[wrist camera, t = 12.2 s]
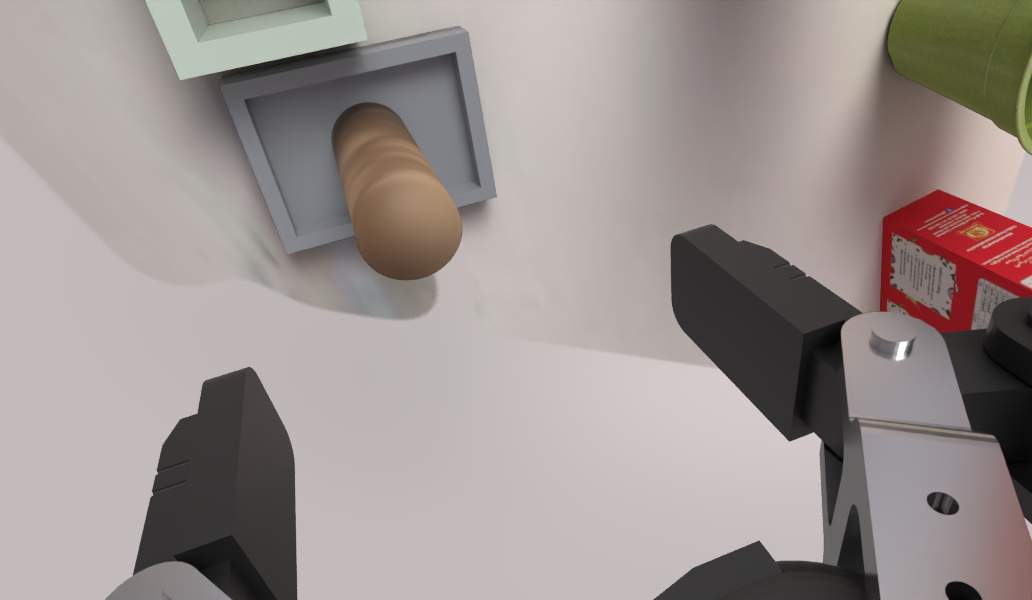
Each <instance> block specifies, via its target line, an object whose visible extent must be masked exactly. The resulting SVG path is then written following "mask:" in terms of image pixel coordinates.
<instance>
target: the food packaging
mask: <svg viewBox="0 0 1032 600" xmlns="http://www.w3.org/2000/svg"><path fill="white" fill-rule="evenodd" d="M1019 297H1032V228H1031V227H1029V226H1026V225H1024V224H1021V223H1019V222H1016V221H1014V220H1012V219H1009V218H1007V217H1004V216H1002V215H999V214H997V213H995V212H992V211H990V210H987V209H985V208H982V207H980V206H977V205H975V204H973V203H970V202H968V201H965V200H963V199H960V198H958V197H956V196H953V195H951V194H948V193H946V192H943V191H941V190H937V191H935V192H933V193H931V194H929V195H927V196H925V197H923V198H921V199H919V200H917V201H915V202H913V203H911V204H909V205H907V206H905V207H903V208H901V209H899V210H897V211H895V212H893V213H891V214H889V215H887V216H885V217H883V241H882V271H881V301H880V312H893V313H899V314H904V315H907V316H911V317H914V318H916V319H919V320H921V321H923V322H925V323H927V324H929V325H930V326H932V327H933V328H935V329H936V330H937V331H938V332H939V333H944V332H955V331H965V330H976V329H986V328H987V327H988V324H989V321H990V318H991V315H992V312H993V310H994V308H995V307H996V306H997V305H998V304H1000V303H1001V302H1003V301H1006V300H1009V299H1013V298H1019Z"/></svg>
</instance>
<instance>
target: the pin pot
mask: <svg viewBox="0 0 1032 600" xmlns="http://www.w3.org/2000/svg"><path fill="white" fill-rule="evenodd" d="M145 1H146V3H147V6H148V8H149V10H150V13H151V15H152V17H153V19H154V22H155V24H156V26H157V29H158V31H159V33H160V35H161V38H162V40H163V42H164V45H165V47H166V49H167V51H168V54H169V56H170V58H171V61H172V63H173V65H174V67H175V70H176V72H177V74H178V77H179V79H180V80H184V79H188V78H193V77H198V76H202V75H207V74H212V73H216V72H221V71H225V70H230V69H235V68H239V67H244V66H249V65H253V64H258V63H263V62H267V61H272V60H277V59H281V58H286V57H290V56H295V55H300V54H304V53H309V52H314V51H318V50H323V49H328V48H332V47H337V46H342V45H346V44H351V43H355V42H360V41H365V40H368V36H367V33H366V29H365V25H364V21H363V17H362V13H361V10H360V6H359V2H358V0H324V2H322V3H317V4H312V5H308V6H303V7H298V8H293V9H288V10H283V11H278V12H273V13H268V14H263V15H258V16H253V17H248V18H243V19H238V20H233V21H228V22H223V23H218V24H213V25H208V23H207V20H206V18H205V15H204V13H203V10H202V8H201V5H200V3H199V0H145Z"/></svg>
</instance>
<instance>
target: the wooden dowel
mask: <svg viewBox="0 0 1032 600" xmlns="http://www.w3.org/2000/svg"><path fill="white" fill-rule="evenodd" d="M331 141H332V147H333V151H334V155H335V159H336V163H337V167H338V170H339V174H340V178H341V182H342V186H343V190H344V194H345V198H346V201H347V205H348V209H349V213H350V217H351V221H352V225H353V229H354V233H355V236H356V240H357V244H358V248H359V251H360V253H361V255H362V257H363V258H364V260H365V261H366V262H367V264H368V265H369V266H370V267H371V268H373V269H374V270H375V271H377V272H378V273H380V274H382V275H384V276H386V277H389V278H393V279H397V280H415V279H420V278H424V277H427V276H429V275H431V274H433V273H435V272H437V271H438V270H440V269H441V268H443V267H444V266H445V265H446V264H447V263H448V262H449V261H450V260H451V259H452V257H453V256H454V254H455V253H456V251H457V249H458V247H459V245H460V241H461V238H462V220H461V216H460V213H459V211H458V209H457V207H456V205H455V204H454V202H453V200H452V199H451V197H450V196H449V194H448V192H447V191H446V189H445V188H444V186H443V185H442V183H441V181H440V180H439V178H438V177H437V175H436V173H435V172H434V170H433V169H432V167H431V166H430V164H429V162H428V161H427V159H426V158H425V156H424V154H423V153H422V151H421V150H420V148H419V146H418V145H417V143H416V142H415V140H414V139H413V137H412V135H411V134H410V132H409V131H408V129H407V127H406V126H405V124H404V123H403V121H402V120H401V118H400V117H399V116H398V114H396V113H395V112H394V111H393V110H392V109H390V108H389V107H387V106H385V105H382V104H379V103H373V102H364V103H359V104H356V105H353V106H351V107H349V108H348V109H346V110H345V111H344V112H343V113H342V114H341V115H340V116H339V117H338V119H337V120H336V122H335V124H334V127H333V130H332V137H331Z"/></svg>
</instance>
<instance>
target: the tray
mask: <svg viewBox="0 0 1032 600" xmlns="http://www.w3.org/2000/svg"><path fill="white" fill-rule="evenodd" d="M219 87H220V90H221V92H222V95H223V97H224V100H225V102H226V105H227V107H228V110H229V112H230V115H231V117H232V120H233V122H234V124H235V127H236V129H237V132H238V134H239V137H240V139H241V142H242V144H243V147H244V149H245V152H246V154H247V157H248V159H249V162H250V164H251V166H252V169H253V171H254V174H255V176H256V179H257V181H258V184H259V186H260V189H261V191H262V194H263V196H264V199H265V201H266V204H267V206H268V208H269V211H270V213H271V216H272V218H273V221H274V223H275V226H276V228H277V231H278V233H279V236H280V238H281V241H282V243H283V246H284V248H285V250H286V253H287V254H291V253H294V252H298V251H302V250H305V249H309V248H312V247H316V246H320V245H323V244H327V243H331V242H334V241H338V240H342V239H345V238H349V237H352V236H355V233H354V229H353V225H352V221H351V217H350V213H349V209H348V205H347V201H346V198H345V194H344V190H343V186H342V182H341V178H340V174H339V170H338V167H337V163H336V159H335V155H334V151H333V147H332V141H331V137H332V130H333V127H334V124H335V122H336V120H337V119H338V117H339V116H340V115H341V114H342V113H343V112H344V111H345V110H346V109H348V108H349V107H351V106H353V105H356V104H359V103H364V102H373V103H379V104H382V105H385V106H387V107H389V108H390V109H392V110H393V111H394V112H395V113H396V114H398V116H399V117H400V118H401V120H402V121H403V123H404V124H405V126H406V127H407V129H408V131H409V132H410V134H411V135H412V137H413V139H414V140H415V142H416V143H417V145H418V146H419V148H420V150H421V151H422V153H423V154H424V156H425V158H426V159H427V161H428V162H429V164H430V166H431V167H432V169H433V170H434V172H435V173H436V175H437V177H438V178H439V180H440V181H441V183H442V185H443V186H444V188H445V189H446V191H447V192H448V194H449V196H450V197H451V199H452V200H453V202H454V204H455V205H456V207H457V208H458V207H462V206H465V205H469V204H473V203H476V202H480V201H484V200H487V199H491V198H494V197H497V195H496V189H495V183H494V178H493V172H492V166H491V160H490V155H489V149H488V143H487V137H486V132H485V126H484V120H483V114H482V109H481V103H480V97H479V91H478V85H477V80H476V74H475V68H474V62H473V57H472V51H471V45H470V39H469V34H468V31H466V30H465V29H463V28H461V27H460V26H455V27H451V28H446V29H441V30H437V31H432V32H428V33H423V34H418V35H414V36H409V37H405V38H400V39H395V40H391V41H386V42H382V43H377V44H372V45H368V46H363V47H359V48H354V49H349V50H345V51H340V52H336V53H331V54H326V55H322V56H317V57H313V58H308V59H303V60H299V61H294V62H289V63H285V64H280V65H276V66H271V67H266V68H262V69H257V70H253V71H248V72H243V73H239V74H234V75H230V76H225V77H222V79H221V82H220V85H219Z"/></svg>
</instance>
